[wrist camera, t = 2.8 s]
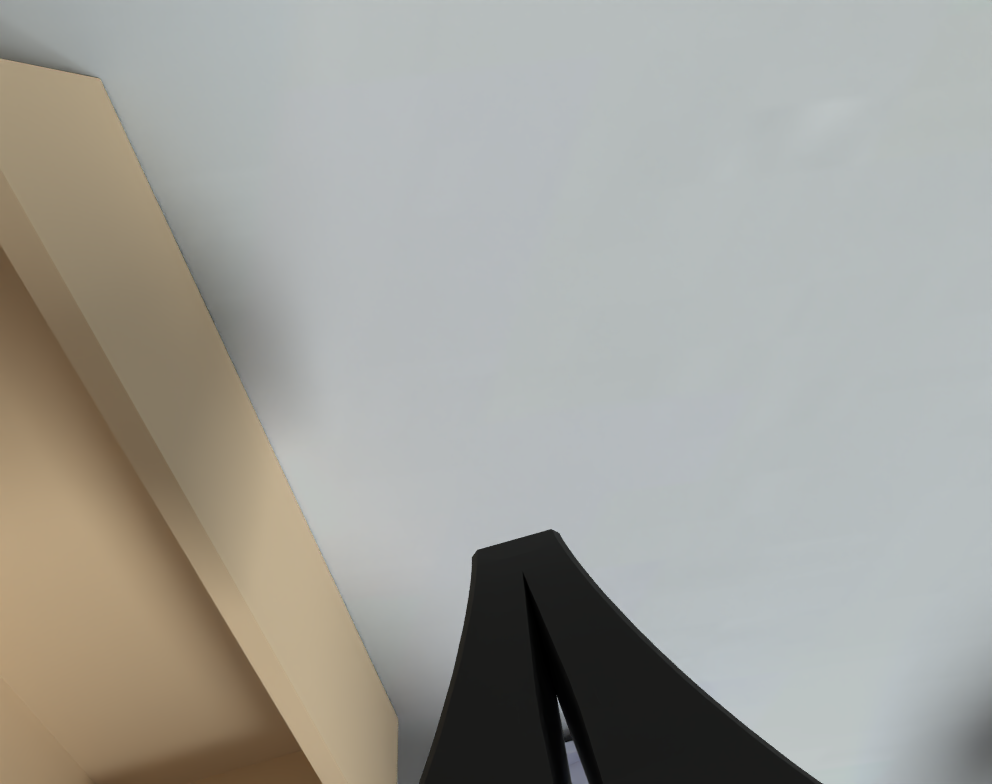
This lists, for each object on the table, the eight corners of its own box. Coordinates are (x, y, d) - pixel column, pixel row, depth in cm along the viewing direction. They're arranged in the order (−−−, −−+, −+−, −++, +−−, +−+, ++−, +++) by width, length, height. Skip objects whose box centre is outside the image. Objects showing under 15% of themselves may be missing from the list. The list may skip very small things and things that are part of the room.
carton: (398, 719, 18) (395, 867, 14) (113, 801, 18) (36, 974, 14) (100, 78, 10) (-71, 43, 7) (-411, 205, 10) (-883, 241, 6)
